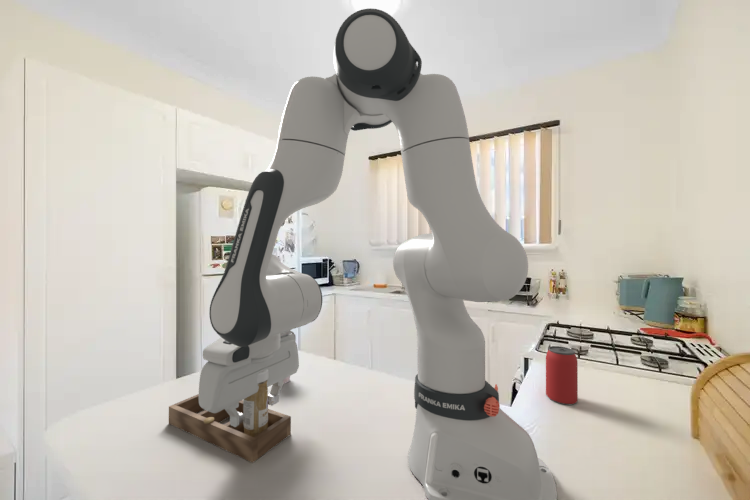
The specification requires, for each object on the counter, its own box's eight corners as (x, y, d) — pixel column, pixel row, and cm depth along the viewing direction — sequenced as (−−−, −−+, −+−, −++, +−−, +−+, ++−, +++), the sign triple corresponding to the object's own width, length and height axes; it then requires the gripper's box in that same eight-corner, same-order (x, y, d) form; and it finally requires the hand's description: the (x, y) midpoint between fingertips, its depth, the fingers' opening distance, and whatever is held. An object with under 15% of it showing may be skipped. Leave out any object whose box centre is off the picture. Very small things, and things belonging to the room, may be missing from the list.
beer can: (580, 398, 74) (580, 349, 74) (574, 409, 69) (574, 356, 69) (549, 390, 78) (549, 343, 78) (542, 399, 73) (542, 349, 73)
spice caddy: (290, 434, 59) (290, 414, 59) (250, 464, 51) (250, 441, 51) (209, 404, 71) (210, 387, 71) (166, 424, 62) (166, 405, 62)
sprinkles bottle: (271, 442, 56) (271, 370, 56) (245, 451, 54) (245, 375, 54) (265, 430, 60) (265, 362, 60) (240, 438, 58) (240, 367, 58)
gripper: (284, 326, 68) (283, 387, 68) (192, 352, 50) (192, 437, 50) (305, 329, 65) (305, 394, 65) (217, 359, 47) (217, 449, 47)
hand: (255, 413), depth 57 cm, fingers open, 7 cm apart
